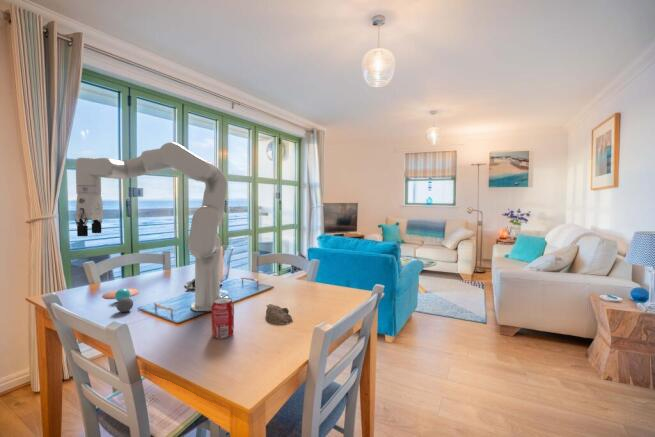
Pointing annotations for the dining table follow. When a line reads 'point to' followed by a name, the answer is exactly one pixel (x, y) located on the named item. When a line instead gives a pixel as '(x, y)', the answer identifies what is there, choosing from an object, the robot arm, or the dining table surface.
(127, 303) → the grey rounded lump
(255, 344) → the dining table surface
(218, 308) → the soda can
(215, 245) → the robot arm
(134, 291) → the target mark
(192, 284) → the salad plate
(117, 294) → the object ball
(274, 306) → the oyster shell
